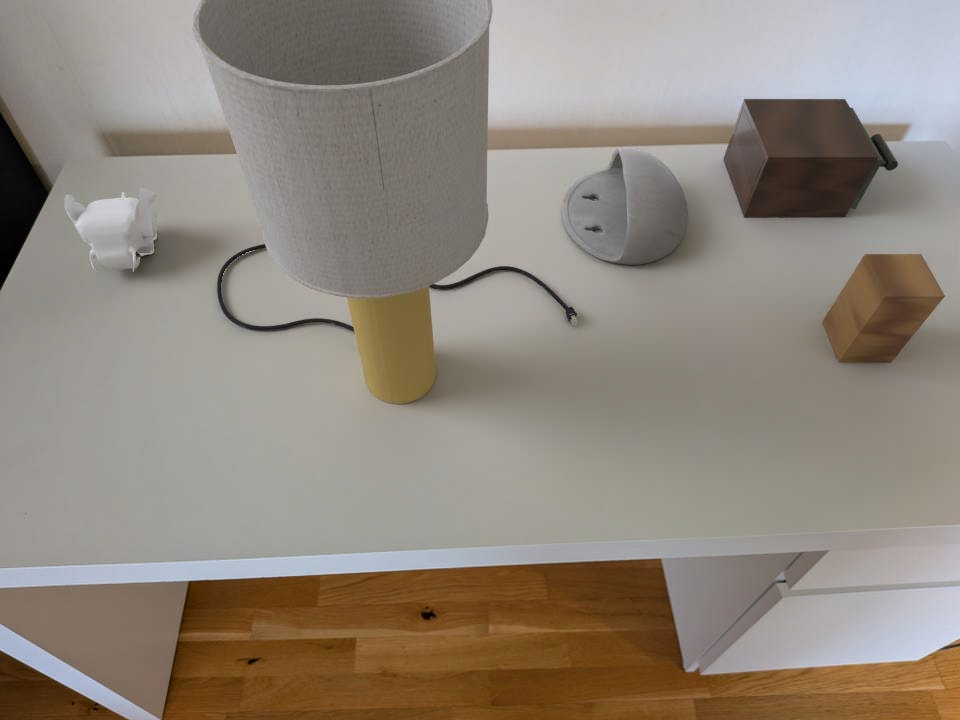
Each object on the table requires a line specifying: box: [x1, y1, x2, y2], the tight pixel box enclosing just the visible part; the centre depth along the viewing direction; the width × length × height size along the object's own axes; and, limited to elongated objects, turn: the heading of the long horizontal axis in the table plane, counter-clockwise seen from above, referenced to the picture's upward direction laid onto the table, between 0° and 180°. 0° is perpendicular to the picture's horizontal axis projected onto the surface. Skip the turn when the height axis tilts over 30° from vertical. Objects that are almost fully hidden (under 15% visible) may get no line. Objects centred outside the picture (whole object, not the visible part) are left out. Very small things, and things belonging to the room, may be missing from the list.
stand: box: [821, 253, 946, 363], centre depth 74 cm, size 6×6×11 cm
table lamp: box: [192, 0, 578, 405], centre depth 63 cm, size 40×34×40 cm
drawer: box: [849, 107, 899, 210], centre depth 91 cm, size 17×11×8 cm
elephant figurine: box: [63, 187, 158, 276], centre depth 82 cm, size 10×12×9 cm
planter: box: [561, 146, 689, 266], centre depth 88 cm, size 19×7×16 cm
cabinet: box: [723, 98, 879, 218], centre depth 91 cm, size 14×13×10 cm
